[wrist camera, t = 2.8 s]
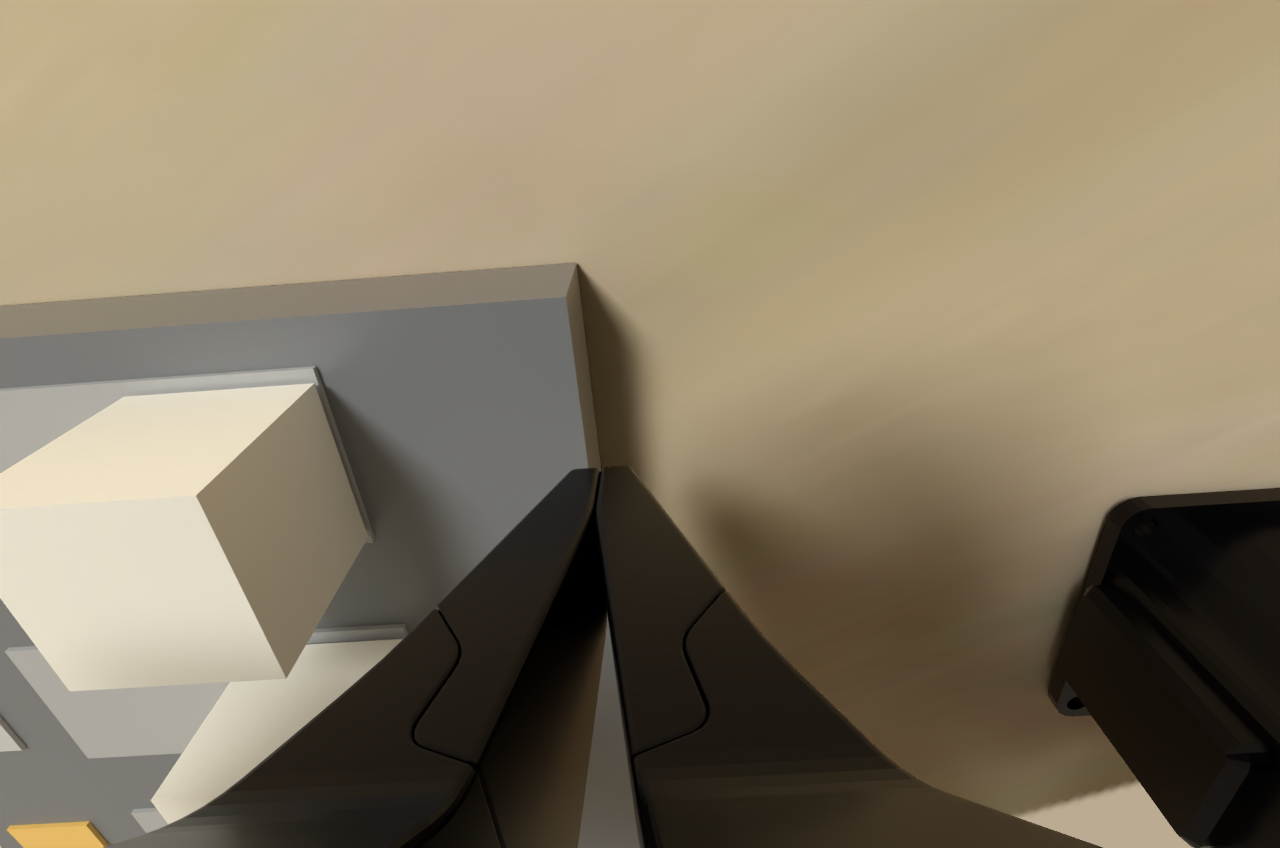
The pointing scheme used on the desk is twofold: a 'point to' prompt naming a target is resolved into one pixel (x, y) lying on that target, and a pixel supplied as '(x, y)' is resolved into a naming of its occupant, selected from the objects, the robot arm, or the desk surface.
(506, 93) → the desk surface
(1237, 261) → the desk surface
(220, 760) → the tab
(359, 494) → the switch panel
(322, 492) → the tab
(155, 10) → the desk surface
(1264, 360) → the desk surface
